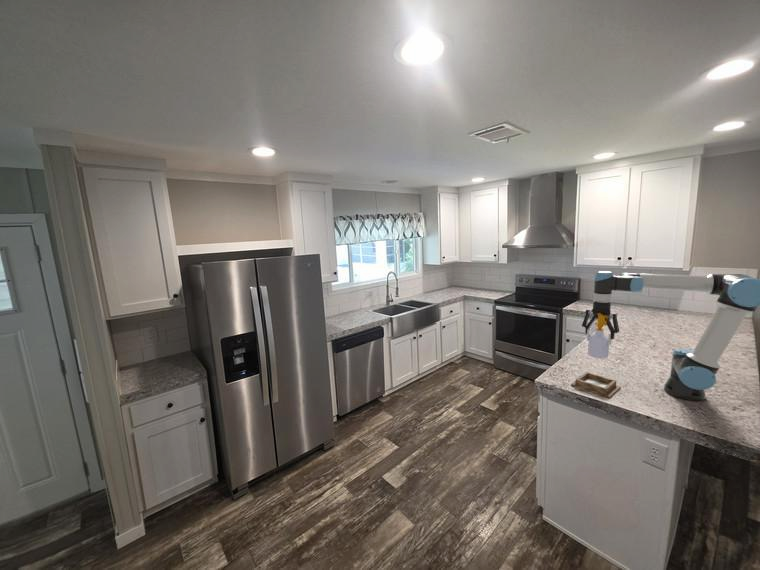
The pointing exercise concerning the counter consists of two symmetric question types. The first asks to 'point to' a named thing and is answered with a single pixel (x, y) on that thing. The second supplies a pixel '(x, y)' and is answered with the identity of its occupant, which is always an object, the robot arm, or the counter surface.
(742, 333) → the counter surface
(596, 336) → the orange capped white bottle
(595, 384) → the picture frame
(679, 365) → the robot arm
